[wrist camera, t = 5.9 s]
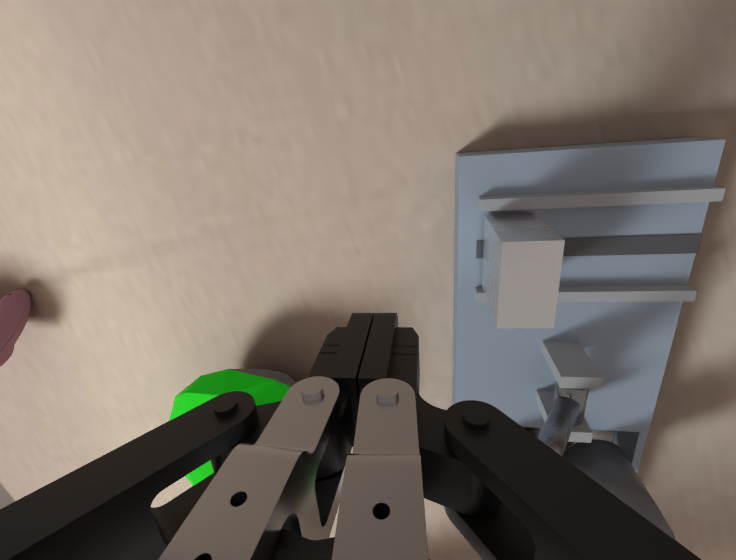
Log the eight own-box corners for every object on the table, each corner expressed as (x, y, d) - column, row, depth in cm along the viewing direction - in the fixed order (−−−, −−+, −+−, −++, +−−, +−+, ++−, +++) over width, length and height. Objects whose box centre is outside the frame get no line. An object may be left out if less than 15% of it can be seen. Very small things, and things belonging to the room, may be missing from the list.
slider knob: (481, 284, 21) (496, 328, 17) (484, 214, 20) (502, 241, 15) (525, 283, 21) (553, 328, 16) (532, 212, 20) (564, 240, 15)
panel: (451, 482, 31) (457, 558, 26) (455, 153, 22) (466, 163, 16) (608, 492, 29) (650, 577, 24) (691, 137, 20) (793, 142, 14)
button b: (557, 482, 26) (587, 562, 21) (564, 438, 25) (598, 513, 20) (621, 486, 25) (665, 569, 21) (632, 441, 24) (683, 519, 19)
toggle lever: (550, 400, 23) (483, 540, 15) (554, 366, 22) (486, 498, 14) (592, 414, 21) (540, 574, 14) (598, 379, 20) (547, 531, 13)
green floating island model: (323, 468, 33) (282, 621, 23) (197, 424, 33) (100, 559, 23) (366, 364, 28) (336, 502, 18) (217, 312, 28) (104, 422, 18)
